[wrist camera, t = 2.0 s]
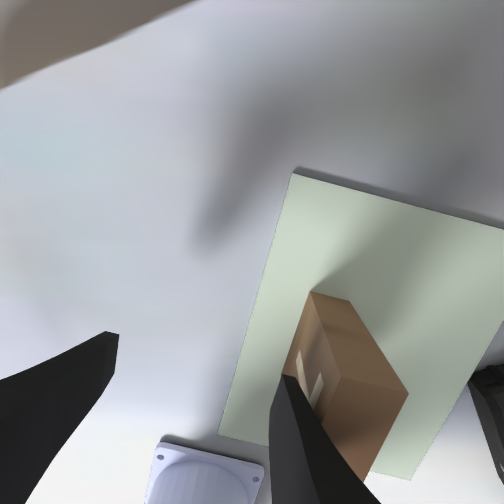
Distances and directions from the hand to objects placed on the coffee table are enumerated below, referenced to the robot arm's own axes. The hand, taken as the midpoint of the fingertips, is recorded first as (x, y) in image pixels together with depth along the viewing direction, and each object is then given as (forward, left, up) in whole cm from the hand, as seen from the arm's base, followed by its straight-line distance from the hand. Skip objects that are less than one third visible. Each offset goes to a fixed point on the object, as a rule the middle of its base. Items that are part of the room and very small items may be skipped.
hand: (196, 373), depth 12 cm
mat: (0, -9, -5) cm, 11 cm away
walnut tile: (0, -6, -5) cm, 8 cm away
